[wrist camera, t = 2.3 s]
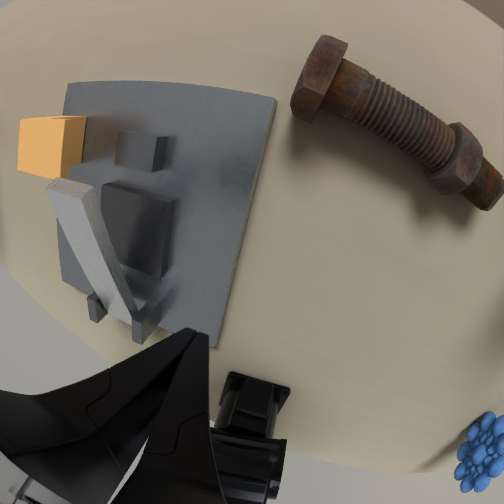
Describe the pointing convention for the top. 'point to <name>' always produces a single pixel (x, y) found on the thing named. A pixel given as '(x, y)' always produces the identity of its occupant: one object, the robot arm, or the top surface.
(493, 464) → the grapes
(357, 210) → the top surface
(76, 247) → the strap
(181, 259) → the base
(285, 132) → the top surface
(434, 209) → the top surface
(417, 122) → the bolt
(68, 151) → the block
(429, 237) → the top surface
